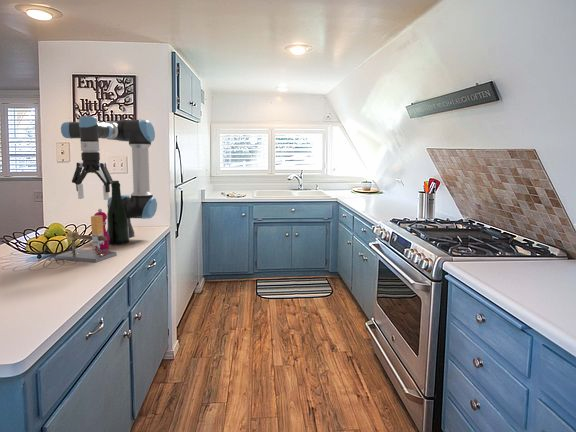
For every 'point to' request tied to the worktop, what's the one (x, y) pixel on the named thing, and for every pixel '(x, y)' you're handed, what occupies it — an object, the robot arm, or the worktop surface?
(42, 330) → the worktop surface
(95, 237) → the block
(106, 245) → the pepper mill
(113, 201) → the beer bottle
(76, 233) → the wooden rod with block
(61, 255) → the bolt plate
